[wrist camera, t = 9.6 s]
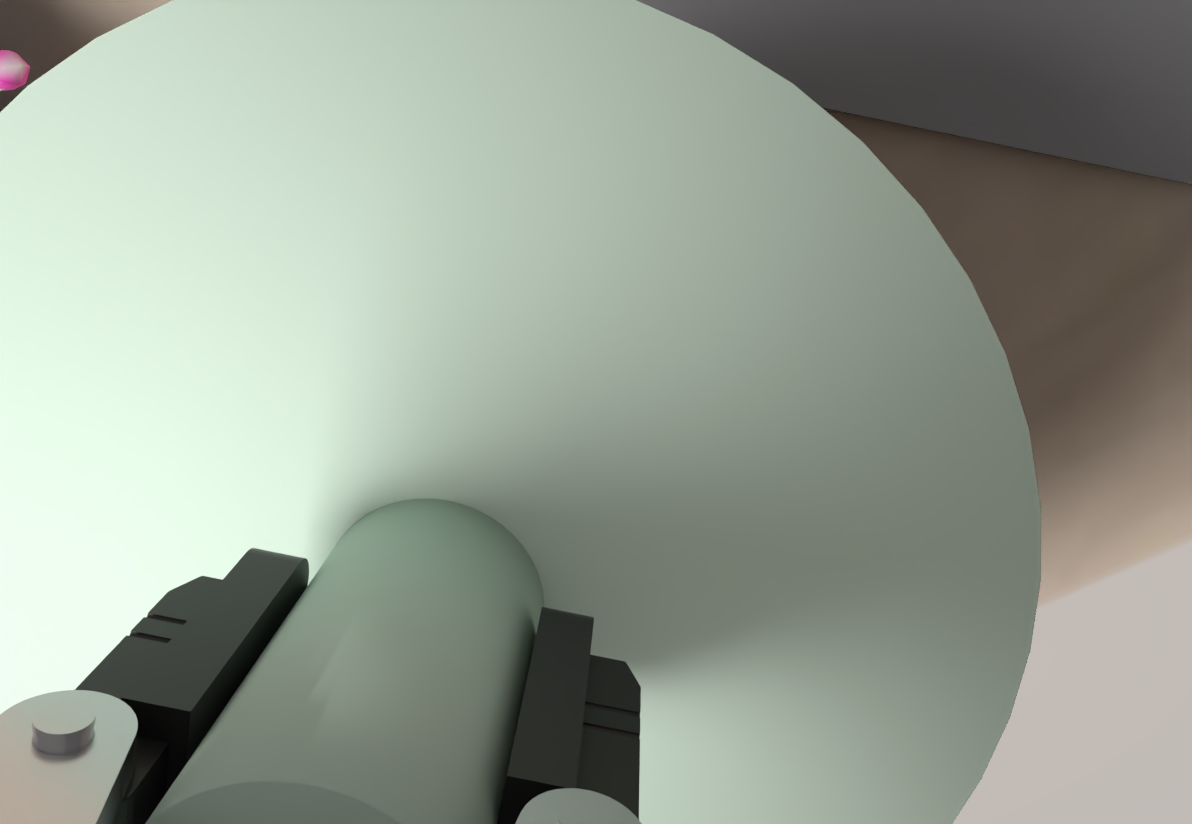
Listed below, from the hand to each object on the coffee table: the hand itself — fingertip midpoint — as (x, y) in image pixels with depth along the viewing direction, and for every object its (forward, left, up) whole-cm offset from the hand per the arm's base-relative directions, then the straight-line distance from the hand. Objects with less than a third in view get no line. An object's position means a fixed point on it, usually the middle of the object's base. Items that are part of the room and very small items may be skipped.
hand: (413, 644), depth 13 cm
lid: (0, 0, -2) cm, 2 cm away
